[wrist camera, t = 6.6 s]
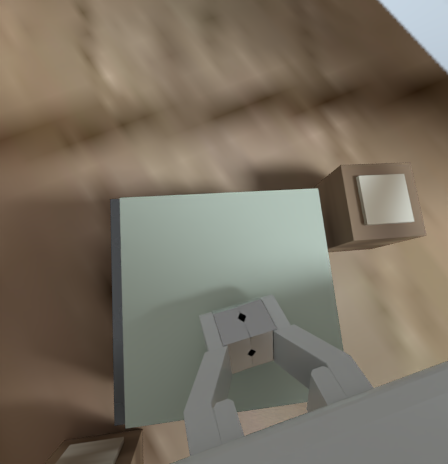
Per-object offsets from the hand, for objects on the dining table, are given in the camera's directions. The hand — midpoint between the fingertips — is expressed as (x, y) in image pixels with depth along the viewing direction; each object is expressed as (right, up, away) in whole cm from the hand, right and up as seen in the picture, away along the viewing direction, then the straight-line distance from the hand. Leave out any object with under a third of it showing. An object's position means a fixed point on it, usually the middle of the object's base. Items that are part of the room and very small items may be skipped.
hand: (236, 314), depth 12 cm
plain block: (-1, -1, +9) cm, 9 cm away
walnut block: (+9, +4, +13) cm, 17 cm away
